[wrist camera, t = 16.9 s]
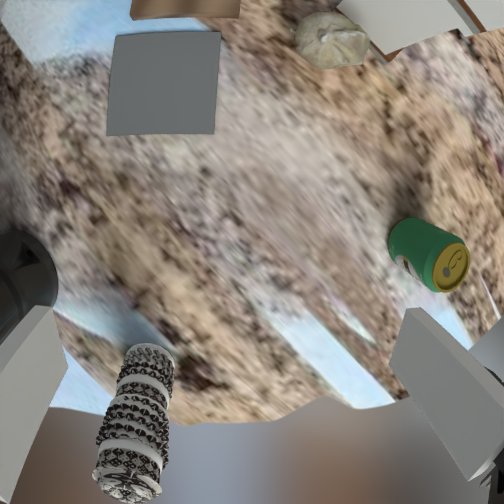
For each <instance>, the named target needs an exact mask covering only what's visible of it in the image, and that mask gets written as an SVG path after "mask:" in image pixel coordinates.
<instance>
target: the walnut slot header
mask: <svg viewBox="0 0 504 504" xmlns="http://www.w3.org/2000/svg"><path fill="white" fill-rule="evenodd" d="M240 1H241V0H132V5H131V10H130V17H131V18H132V20H144V19H158V18H180V17H213V18H236V19H238V17H239V12H240Z"/></svg>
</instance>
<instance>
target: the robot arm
mask: <svg viewBox="0 0 504 504" xmlns="http://www.w3.org/2000/svg"><path fill="white" fill-rule="evenodd" d="M57 295H58V280H57V274H56V271H55V268H54V265H53V263H52V260H51V258H50V257H49V255H48V253H47V252H46V250H45V249H44V248H43V246H42V245H41V244H40V243H39V242H38V241H37V240H36V239H35V238H33V237H32V236H31V235H29V234H27V233H25V232H23V231H20V230H7V231H4V232H2V233H0V500H1V501H4V502H6V503H8V504H9V503H10V500H11V497H12V494H13V491H14V489H15V486H16V483H17V480H18V478H19V475H20V472H21V470H22V467H23V465H24V462H25V460H26V457H27V455H28V452H29V450H30V447H31V445H32V443H33V440H34V438H35V436H36V433H37V431H38V429H39V427H40V424H41V422H42V420H43V418H44V416H45V414H46V411H47V409H48V407H49V405H50V403H51V401H52V399H53V397H54V395H55V393H56V391H57V389H58V387H59V385H60V383H61V381H62V379H63V377H64V375H65V373H66V371H67V369H68V364H67V361H66V358H65V354H64V351H63V348H62V344H61V341H60V337H59V334H58V330H57V326H56V322H55V318H54V314H53V310H52V308H53V306H54V304H55V302H56V299H57ZM388 365H389V366H390V368H391V369H392V370H393V372H394V373H395V375H396V376H397V377H398V379H399V380H400V382H401V383H402V384H403V386H404V387H405V389H406V390H407V392H408V393H409V394H410V396H411V397H412V399H413V400H414V402H415V403H416V404H417V406H418V407H419V409H420V410H421V411H422V413H423V415H424V416H425V417H426V419H427V420H428V422H429V423H430V425H431V426H432V427H433V429H434V431H435V432H436V433H437V435H438V436H439V438H440V440H441V441H442V443H443V444H444V446H445V447H446V449H447V450H448V452H449V453H450V455H451V456H452V458H453V459H454V461H455V462H456V464H457V465H458V467H459V469H460V470H461V472H462V473H463V474H464V476H465V478H466V480H467V481H469V480H471V479H473V478H475V477H476V476H478V475H480V474H481V473H483V472H484V471H485V470H486V469H487V468H488V467H489V465H490V464H491V463H492V462H494V463H495V464H496V466H495V467H494V468H493V469H492V471H491V472H490V473H489V474H488V475H487V476H486V477H485V478H484V479H483V480H482V482H481V484H480V486H479V487H483V486H484V485H485V483H487V481H488V480H489V479H491V481H490V482H489V483H488V484H487V486H486V488H490V492H489V500H488V504H504V383H502V381H501V379H500V378H498V376H497V375H496V374H495V373H494V372H493V371H491V370H489V369H487V368H486V367H484V366H483V365H482V364H481V363H480V362H479V361H478V360H476V359H475V357H473V356H472V354H470V353H469V352H468V351H467V350H466V349H465V348H464V347H463V346H462V345H461V344H460V343H459V342H458V341H457V340H456V339H455V338H454V337H453V336H452V335H451V334H450V333H448V332H447V331H446V330H445V329H444V328H443V327H442V326H441V325H440V324H439V323H438V322H437V321H436V320H434V319H433V318H432V317H431V316H430V315H429V314H428V313H427V312H426V311H425V310H423V309H422V308H421V307H419V308H408V309H406V312H405V315H404V318H403V322H402V325H401V328H400V332H399V335H398V338H397V341H396V344H395V347H394V350H393V353H392V356H391V359H390V361H389V364H388Z"/></svg>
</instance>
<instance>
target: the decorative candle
mask: <svg viewBox="0 0 504 504" xmlns="http://www.w3.org/2000/svg"><path fill="white" fill-rule="evenodd" d="M125 358H126V359H125V360H124V361H123V364H124V365H125V366H121V368H122V369H121V372H120V373H119V377H118V378H119V379H117V384H118V385H117V389H116V396H115V398H114V399H113V400H112V401H111V402H110V407H108V409H107V412H106V416H105V417H104V421H103V425H104V426H102V427H101V428H100V431H99V435H100V436H98V437H97V438H96V440H97V441H96V445H97V446H98V447H99V451H98V461H97V465H96V469H95V470H94V471H93V472H92V473H93V478H94V480H95V481H96V482H97V483H98V484H99V486H100V488H101V489H102V490H103V491H104V493H106V494H107V495H109V496H110V497H112V498H114V499H116V500H119V501H122V502H127V503H133V504H141V503H146V502H148V501H150V500H151V499H152V498H155V497H157V496H159V495H160V494H161V491H162V489H161V487H160V486H159V480H160V474H161V471H162V470H163V469H165V465H166V464H167V463H168V458H167V457H168V453H167V450H168V448H169V447H168V445H167V443H168V441H169V439H168V437H167V436H168V435H169V432H168V430H169V426H168V422H169V417H168V414H167V408H168V404H169V400H171V398H172V396H171V393H172V388H171V387H172V386H173V383H174V381H173V379H174V372H175V363H174V359H173V357H172V356H171V355H170V353H169V352H168V351H167V350H165V349H164V348H162V347H161V346H159V345H155V344H152V343H139V344H137V345H134V346H132V347H131V348H130V349H129V350H128V352H127V353H126V356H125ZM108 422H109V423H108ZM105 431H106V433H104V432H105ZM102 441H103V442H102ZM161 457H163V461H162V458H161Z"/></svg>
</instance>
